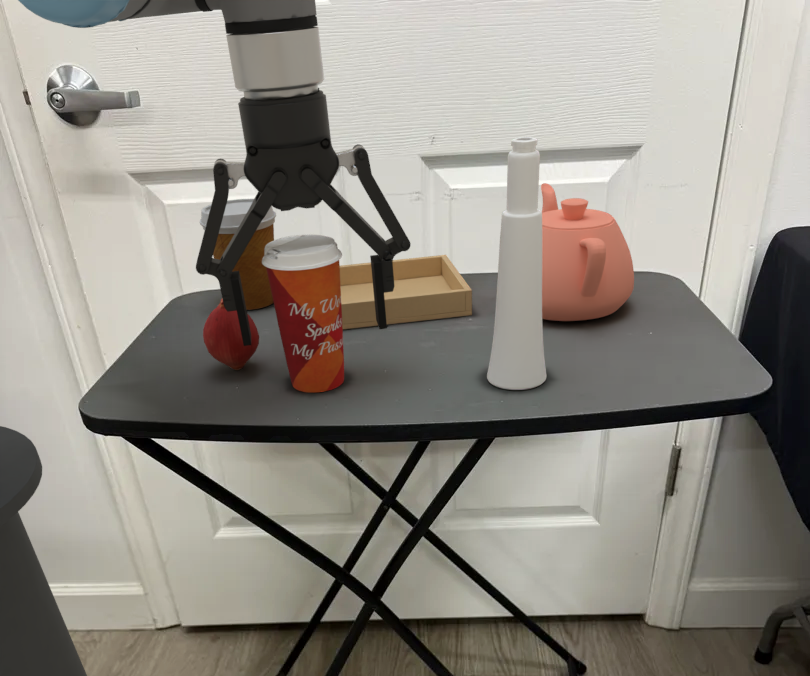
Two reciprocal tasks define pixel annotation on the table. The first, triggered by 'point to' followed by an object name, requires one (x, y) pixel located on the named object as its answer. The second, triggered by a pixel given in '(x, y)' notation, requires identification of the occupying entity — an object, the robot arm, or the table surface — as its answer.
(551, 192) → the teapot
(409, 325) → the table surface
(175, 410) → the table surface
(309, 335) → the paper cup
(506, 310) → the cosmetic bottle
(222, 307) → the onion
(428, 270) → the tray
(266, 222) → the disposable coffee cup
